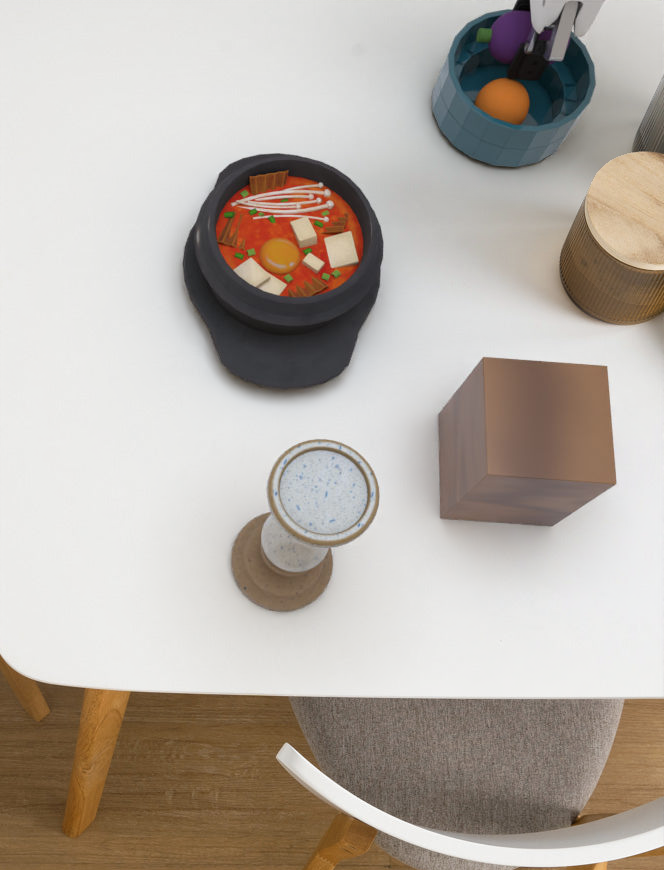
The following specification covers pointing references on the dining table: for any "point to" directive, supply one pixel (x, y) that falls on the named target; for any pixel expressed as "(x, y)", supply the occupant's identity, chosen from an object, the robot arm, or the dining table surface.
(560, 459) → the cube
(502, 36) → the toy eggplant
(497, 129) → the bowl
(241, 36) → the dining table surface
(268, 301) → the casserole
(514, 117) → the toy orange
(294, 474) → the candle holder
